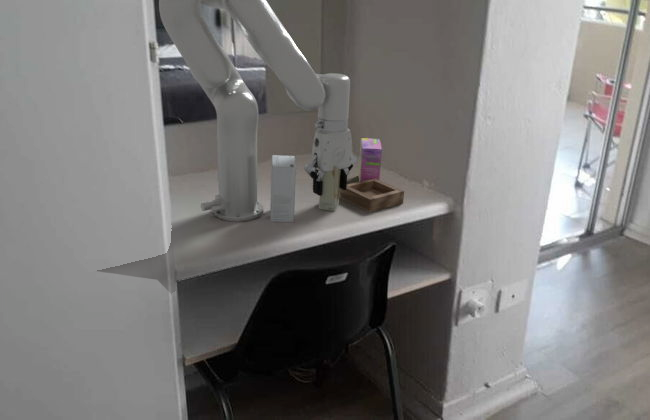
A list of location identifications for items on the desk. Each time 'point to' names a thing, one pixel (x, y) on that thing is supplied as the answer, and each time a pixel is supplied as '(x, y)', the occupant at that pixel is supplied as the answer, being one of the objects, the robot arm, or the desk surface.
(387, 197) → the shallow wooden tray
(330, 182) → the skincare box
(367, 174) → the box
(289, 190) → the skincare box
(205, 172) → the desk surface
